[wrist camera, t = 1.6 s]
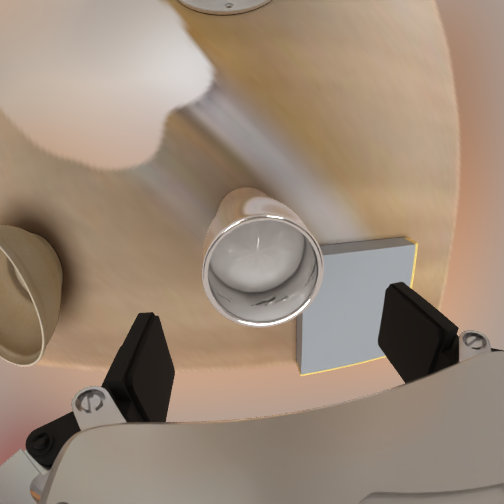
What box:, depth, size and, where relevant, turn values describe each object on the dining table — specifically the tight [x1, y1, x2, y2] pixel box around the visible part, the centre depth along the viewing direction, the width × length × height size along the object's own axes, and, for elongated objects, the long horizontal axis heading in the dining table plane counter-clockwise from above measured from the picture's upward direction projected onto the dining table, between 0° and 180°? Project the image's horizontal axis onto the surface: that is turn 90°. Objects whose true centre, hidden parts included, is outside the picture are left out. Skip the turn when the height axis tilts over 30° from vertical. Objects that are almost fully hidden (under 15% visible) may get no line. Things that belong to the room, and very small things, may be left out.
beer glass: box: [202, 187, 324, 327], centre depth 22 cm, size 7×7×15 cm
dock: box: [296, 237, 418, 376], centre depth 32 cm, size 17×15×3 cm
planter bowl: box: [0, 225, 63, 367], centre depth 23 cm, size 16×16×11 cm
